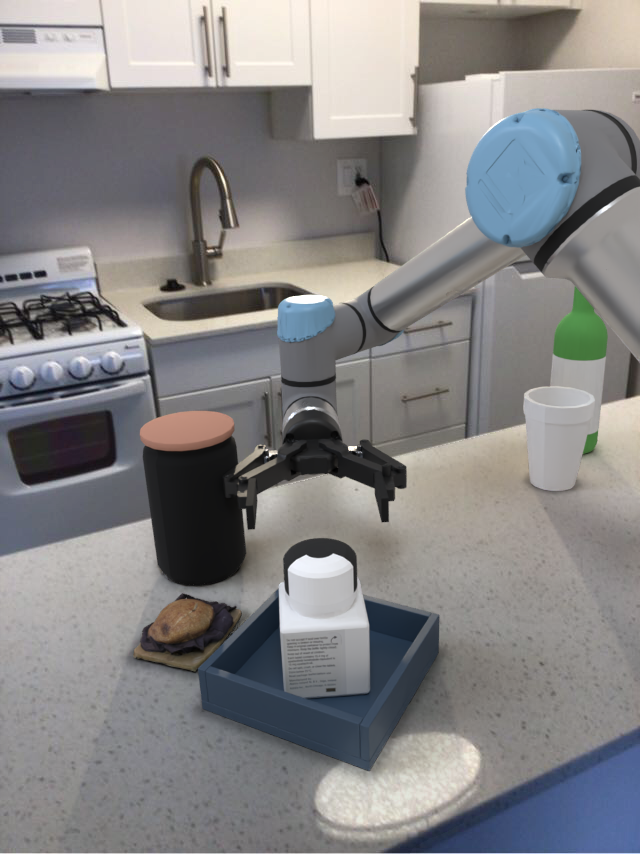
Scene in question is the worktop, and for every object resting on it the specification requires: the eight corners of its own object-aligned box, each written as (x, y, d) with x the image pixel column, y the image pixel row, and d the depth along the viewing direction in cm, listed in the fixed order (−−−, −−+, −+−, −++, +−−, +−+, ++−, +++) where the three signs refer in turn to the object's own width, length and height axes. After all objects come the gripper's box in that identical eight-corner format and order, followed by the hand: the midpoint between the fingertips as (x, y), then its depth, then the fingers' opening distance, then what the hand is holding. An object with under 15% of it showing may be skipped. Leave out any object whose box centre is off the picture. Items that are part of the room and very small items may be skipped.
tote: (439, 652, 75) (439, 614, 73) (369, 771, 61) (368, 727, 59) (293, 611, 82) (291, 575, 80) (202, 709, 68) (197, 668, 67)
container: (282, 647, 75) (275, 531, 70) (360, 642, 75) (358, 526, 70) (284, 702, 67) (276, 576, 63) (370, 695, 68) (368, 570, 63)
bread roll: (199, 677, 73) (195, 645, 71) (125, 658, 76) (121, 627, 74) (248, 614, 82) (246, 585, 80) (181, 599, 85) (178, 571, 83)
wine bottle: (578, 461, 116) (597, 263, 105) (535, 447, 122) (549, 258, 111) (606, 447, 121) (626, 256, 110) (563, 434, 126) (579, 252, 115)
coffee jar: (264, 556, 93) (253, 418, 86) (206, 598, 85) (188, 450, 78) (200, 535, 99) (185, 405, 92) (139, 573, 90) (118, 433, 84)
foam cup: (590, 473, 112) (598, 390, 107) (582, 500, 104) (591, 411, 99) (524, 464, 115) (530, 383, 111) (512, 489, 108) (517, 403, 103)
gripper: (409, 458, 97) (440, 540, 78) (216, 468, 97) (197, 553, 77) (409, 403, 95) (441, 473, 75) (210, 413, 94) (189, 486, 74)
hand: (317, 514), depth 76 cm, fingers open, 13 cm apart
